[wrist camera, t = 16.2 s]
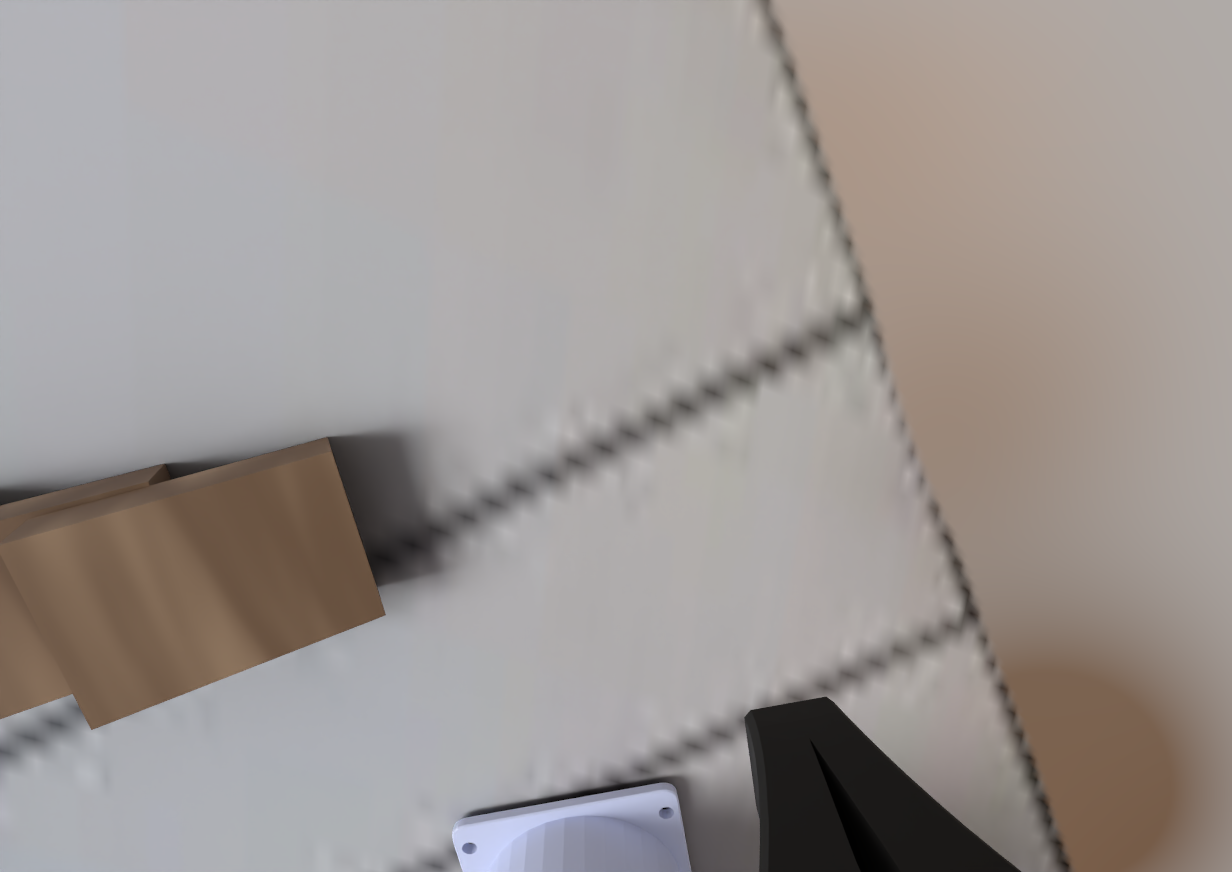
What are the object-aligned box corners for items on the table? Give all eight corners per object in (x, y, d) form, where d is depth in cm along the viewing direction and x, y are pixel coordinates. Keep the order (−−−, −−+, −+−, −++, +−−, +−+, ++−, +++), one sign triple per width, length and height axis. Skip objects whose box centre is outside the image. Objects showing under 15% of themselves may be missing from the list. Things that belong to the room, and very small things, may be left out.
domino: (148, 481, 17) (-214, 576, 14) (216, 643, 18) (-101, 754, 16) (165, 463, 18) (-154, 545, 16) (226, 611, 20) (-58, 707, 17)
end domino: (331, 451, 17) (-5, 546, 14) (385, 615, 18) (91, 729, 15) (327, 437, 18) (28, 518, 16) (377, 587, 20) (111, 686, 17)
